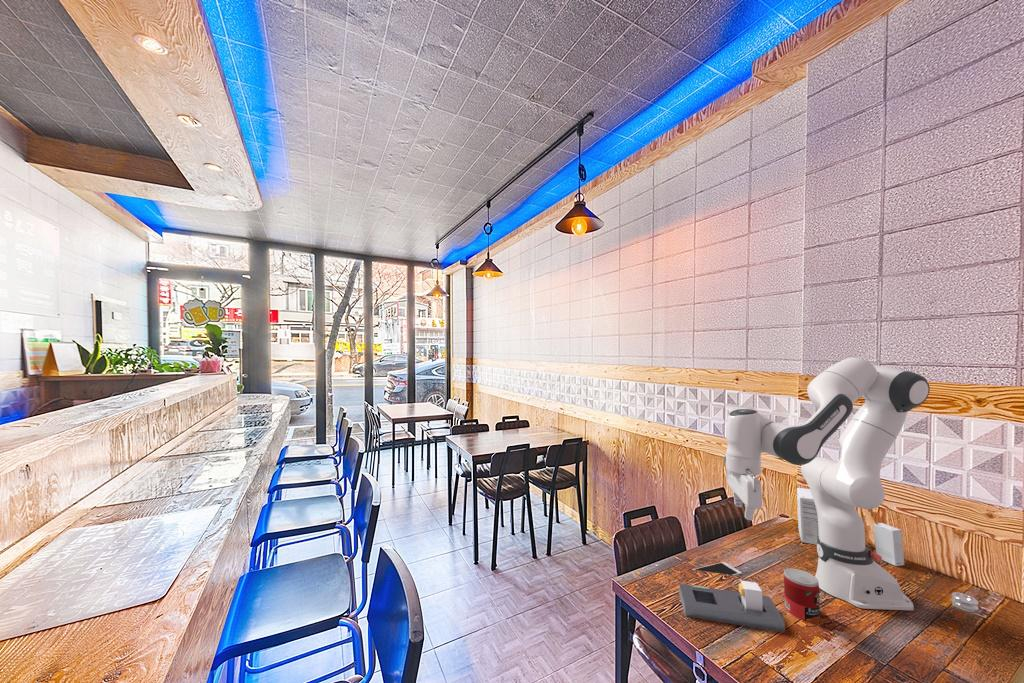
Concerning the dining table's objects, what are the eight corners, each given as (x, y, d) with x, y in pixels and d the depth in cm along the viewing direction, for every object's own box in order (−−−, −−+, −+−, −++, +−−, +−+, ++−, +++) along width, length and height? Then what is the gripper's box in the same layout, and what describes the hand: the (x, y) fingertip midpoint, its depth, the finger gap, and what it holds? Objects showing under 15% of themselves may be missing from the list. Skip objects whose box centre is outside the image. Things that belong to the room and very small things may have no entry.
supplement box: (845, 551, 139) (843, 504, 140) (801, 542, 146) (799, 497, 147) (838, 537, 150) (837, 492, 151) (797, 528, 157) (796, 486, 158)
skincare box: (905, 565, 130) (903, 529, 130) (895, 566, 129) (893, 531, 129) (884, 556, 136) (882, 522, 136) (874, 557, 135) (873, 523, 135)
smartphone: (689, 572, 127) (689, 569, 127) (724, 564, 132) (724, 561, 132) (706, 584, 121) (706, 581, 121) (742, 575, 125) (742, 572, 126)
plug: (757, 611, 106) (756, 582, 106) (763, 621, 102) (762, 591, 102) (738, 608, 107) (737, 580, 107) (743, 618, 103) (742, 588, 103)
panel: (769, 610, 107) (769, 595, 108) (785, 635, 98) (784, 619, 98) (679, 597, 114) (679, 582, 114) (685, 619, 104) (685, 604, 104)
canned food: (811, 629, 100) (810, 587, 100) (779, 611, 107) (777, 572, 107) (826, 620, 103) (824, 579, 104) (793, 603, 111) (792, 565, 111)
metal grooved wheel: (947, 603, 110) (972, 614, 105) (946, 592, 110) (971, 603, 106) (958, 600, 112) (983, 611, 107) (957, 590, 112) (982, 600, 107)
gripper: (769, 476, 99) (769, 529, 99) (744, 457, 119) (744, 501, 118) (742, 474, 101) (742, 526, 101) (722, 455, 121) (722, 498, 120)
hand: (743, 512), depth 110 cm, fingers open, 8 cm apart
